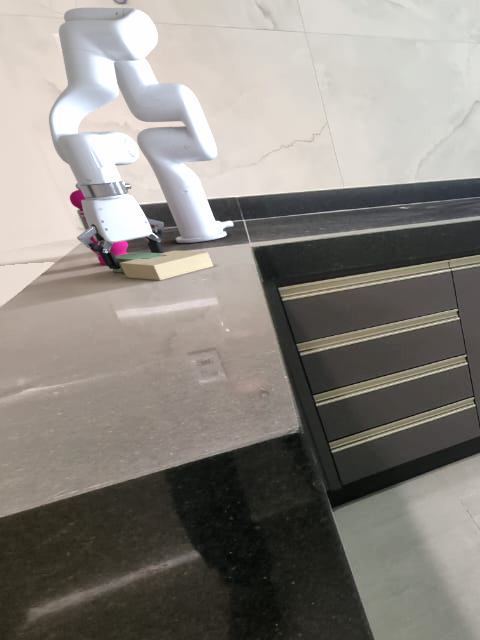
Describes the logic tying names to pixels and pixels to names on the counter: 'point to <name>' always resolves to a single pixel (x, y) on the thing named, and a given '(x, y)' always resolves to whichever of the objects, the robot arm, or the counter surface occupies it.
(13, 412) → the counter surface
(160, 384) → the counter surface
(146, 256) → the sage pad
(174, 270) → the sand pad
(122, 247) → the pepper mill
